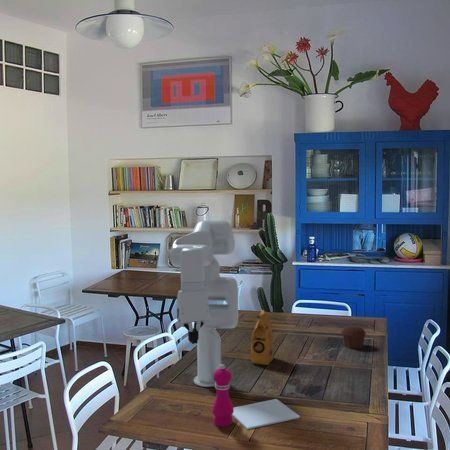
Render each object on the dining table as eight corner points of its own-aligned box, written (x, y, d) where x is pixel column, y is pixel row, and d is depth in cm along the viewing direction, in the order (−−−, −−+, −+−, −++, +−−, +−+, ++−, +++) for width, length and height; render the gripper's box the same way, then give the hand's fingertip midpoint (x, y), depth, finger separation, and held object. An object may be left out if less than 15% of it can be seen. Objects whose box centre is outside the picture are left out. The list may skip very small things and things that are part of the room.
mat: (226, 410, 185) (226, 408, 185) (276, 400, 193) (276, 398, 193) (247, 429, 170) (247, 427, 170) (299, 417, 178) (299, 416, 178)
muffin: (363, 342, 261) (364, 323, 260) (367, 349, 250) (367, 329, 249) (339, 342, 262) (339, 322, 261) (342, 349, 251) (342, 328, 250)
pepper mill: (233, 417, 179) (232, 360, 178) (234, 427, 172) (233, 367, 170) (212, 418, 179) (211, 360, 177) (212, 427, 172) (211, 368, 170)
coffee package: (247, 364, 232) (247, 315, 231) (254, 355, 244) (254, 308, 242) (269, 366, 229) (269, 316, 228) (275, 357, 241) (275, 310, 239)
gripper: (209, 282, 174) (210, 336, 175) (166, 286, 168) (167, 342, 169) (218, 286, 167) (219, 342, 169) (174, 290, 161) (175, 349, 163)
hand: (193, 342), depth 169 cm, fingers closed
